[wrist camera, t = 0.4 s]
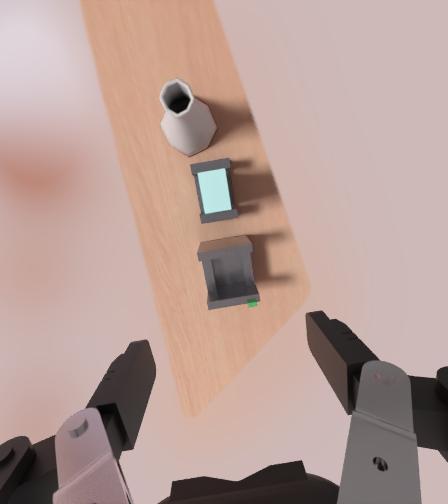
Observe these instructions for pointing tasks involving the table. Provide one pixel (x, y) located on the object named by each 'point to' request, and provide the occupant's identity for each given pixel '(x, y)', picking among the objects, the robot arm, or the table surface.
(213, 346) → the table surface
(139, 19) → the table surface
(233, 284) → the port
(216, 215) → the grey ridged tray
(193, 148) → the flask
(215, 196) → the plug
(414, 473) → the robot arm
